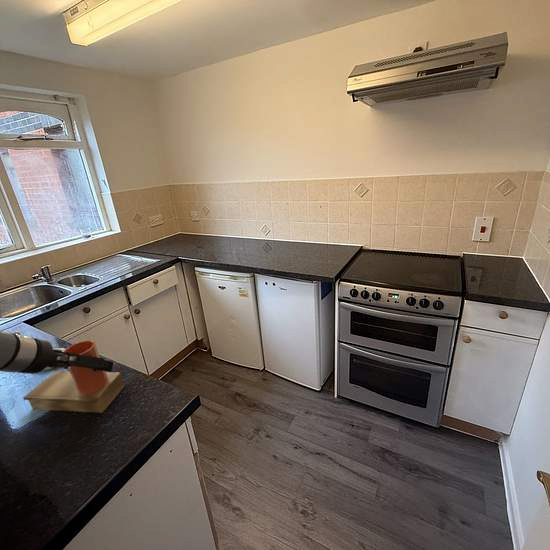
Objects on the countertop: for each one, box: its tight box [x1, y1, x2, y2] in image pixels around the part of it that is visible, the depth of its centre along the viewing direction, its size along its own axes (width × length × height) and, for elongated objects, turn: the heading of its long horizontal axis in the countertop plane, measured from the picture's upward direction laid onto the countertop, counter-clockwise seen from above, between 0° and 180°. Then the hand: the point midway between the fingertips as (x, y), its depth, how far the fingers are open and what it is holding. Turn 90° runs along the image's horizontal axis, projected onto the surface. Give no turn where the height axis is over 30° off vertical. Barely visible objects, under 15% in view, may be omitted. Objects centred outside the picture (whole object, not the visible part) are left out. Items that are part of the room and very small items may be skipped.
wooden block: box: [22, 370, 126, 414], centre depth 85 cm, size 22×11×5 cm, turn 82°
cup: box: [64, 339, 108, 394], centre depth 81 cm, size 7×7×12 cm
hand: (97, 366), depth 85 cm, fingers open, 8 cm apart
